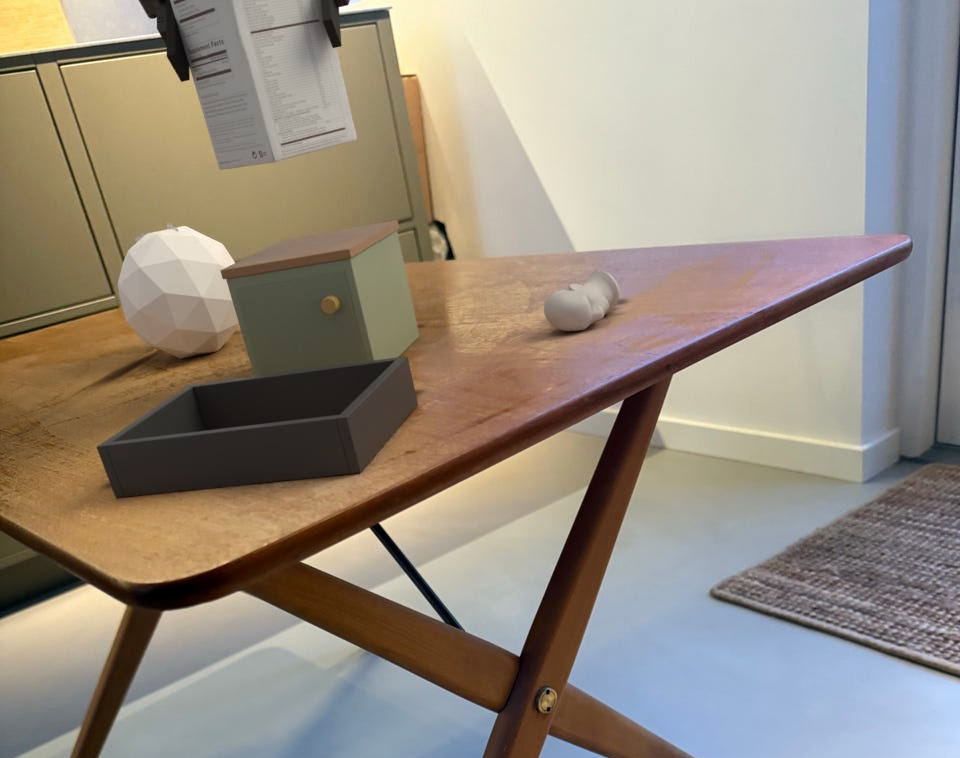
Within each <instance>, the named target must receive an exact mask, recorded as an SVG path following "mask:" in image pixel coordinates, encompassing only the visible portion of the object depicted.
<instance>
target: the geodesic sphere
mask: <svg viewBox="0 0 960 758" xmlns="http://www.w3.org/2000/svg"><path fill="white" fill-rule="evenodd" d="M166 225H167V226H166V227H167V229H162V230H158V231H153V232H150V231H147V233H146V234H145V233H143V232H141V233H140V235H138V236H136V238H135V237H134V240H135V244H133V245H132V246H131V247H130V248H129V249H128V250H127V252H126V253H125V256H124V260H123V262H122V264H121V269H120V273H119V277H118V282H117V285H116V286H117V292H118V296H119V300H120V301H119V302H120V304H121V305H120V306H121V308H122V312H123V315H124V318H125V322H126V323H127V325H128V326H129V327H130V328H131V329H132V331H134V332H135V334H137V336H138V337H139V338H140V339H141V341H143V342H144V343H146V344H148V345H149V346H152V347H155V348H156V349H159V350H161V351H163V352H165V353H168V354H170V355H172V356H174V357H176V358H178V359H181V360H182V359H185V358H186V359H187V358H190V357H195V356H201V355H206V354H210V353H215V352H219V351H220V350H221V349H222V347H223V346H224V345H225V344H226V343H227V341H228V340H229V339H230V338H231V337H232V336H233V335H234V333H235V332H236V331H237V330H238V328H240V325H239V322H238V318H237V315H236V312H235V308H234V305H233V301H232V298H231V295H230V291H229V288H228V284H227V281H226V279H223V278H222V275H221V270H222V269H224V268H226V267H228V266H230V265H232V264H234V263H236V262H235V260H234V258H233V257H232V256H231V253H229V251H228V250H227V248H226V247H225V245H224V244H223V243H222V242H220V241H218V240H216V239H214V238H211V237H209V236H207V235H205V234H203V233H201V232H199V231H197V230H195V229H193V228H191V227H189V226H186V225H182V226H177V227H176V225H175V226H173V224H172V223H171V222H167V223H166Z"/></svg>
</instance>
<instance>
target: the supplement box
mask: <svg viewBox="0 0 960 758" xmlns="http://www.w3.org/2000/svg"><path fill="white" fill-rule="evenodd" d="M170 2H171V5H172V8H173V12H174V15H175V19H176V22H177V25H178V29H179V32H180V36H181V39H182V43H183V46H184V50H185V53H186V57H187V60H188V63H189V71H190V74H191V76H192V80H193V84H194V88H195V91H196V94H197V97H198V101H199V104H200V107H201V111H202V114H203V117H204V121H205V125H206V128H207V131H208V136H209V138H210V142H211V145H212V148H213V153H214V156H215V159H216V162H217V166H218V170H220V171H222V170H231V169H239V168H244V167H250V166H258V165H265V164H266V165H267V164H272V163H273V164H274V163H277V162H280V161H283V160H288V159H291V158H296V157H299V156H303V155H307V154H310V153H314V152H318V151H321V150H322V151H323V150H326V149H330V148H333V147H337V146H340V145H344V144H347V143H351V142H355V141H357V140H358V136H357V131H356V127H355V123H354V119H353V114H352V111H351V106H350V101H349V97H348V92H347V89H346V84H345V80H344V76H343V72H342V67H341V62H340V58H339V54H338V48H337V47H336V48H333V47H332V45H331V42H330V39H329V37H328V34H327V32H326V29H325V26H324V24H323V20H322V4H321V0H170Z"/></svg>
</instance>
